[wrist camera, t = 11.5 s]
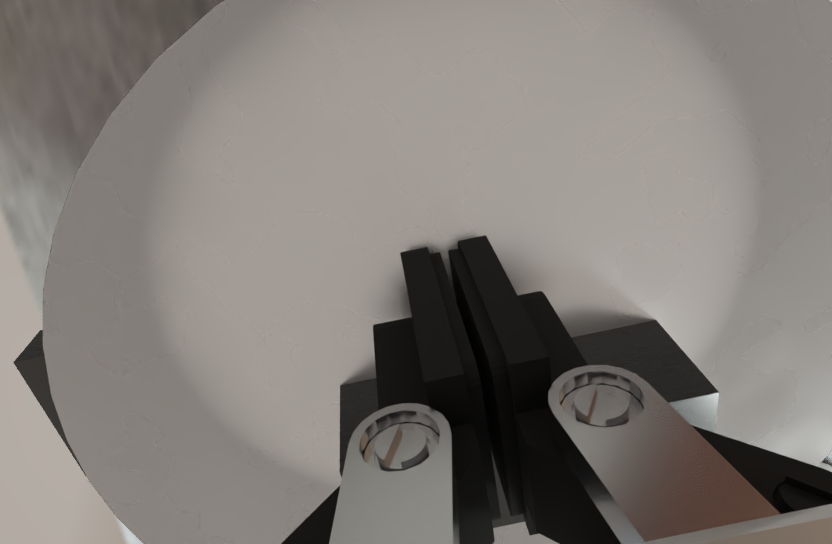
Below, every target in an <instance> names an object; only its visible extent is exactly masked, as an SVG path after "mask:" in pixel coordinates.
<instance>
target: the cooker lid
mask: <svg viewBox="0 0 832 544" xmlns="http://www.w3.org/2000/svg"><path fill="white" fill-rule="evenodd" d="M484 235H486V236H487V238H488V240H489V242H490V244H491V246H492V248H493V249H494V251H495V253H496V255H497V257H498V259H499V261H500V263H501V265H502V267H503V269H504V270H505V272H506V274H507V276H508V278H509V280H510V282H511V284H512V286H513V288H514V290H515V291H516V293H517V295H522V294H527V293H532V292H537V291H542V292H543V293H544V294H545V295H546V297H547V299H548V300H549V302H550V304H551V305H552V307H553V308H554V310H555V312H556V313H557V315H558V317H559V318H560V320H561V322H562V323H563V325H564V326H565V328H566V330H567V331H568V333H569V335H570V336H571V338H572V340H573V341H574V343H575V345H576V346H577V348H578V349H579V351H580V353H581V354H582V356H583V358H584V359H585V361H586V363H587V364H588V365H609V366H614V367H619V368H623V369H625V370H628V371H630V372H633V373H635V374H637V375H638V376H640V377H641V378H642V379H644V380H645V381H646V382H648V383H649V384H650V385H651V386H652V387H653V388H654V389H655V390H656V391H657V392H658V393H659V394H660V395H661V396H662V397H663V398H664V399H665V400H666V401H667V402H668V403H669V404H670V405H671V406H672V407H673V408H674V409H675V410H676V411H677V412H678V413H679V414H680V415H681V416H682V417H683V418H684V419H685V420H686V421H687V422H688V423H689V424H690V425H692V426H695V427H698V428H701V429H704V430H708V431H711V432H714V433H717V434H720V435H723V436H726V437H729V438H732V439H735V440H738V441H741V442H744V443H747V444H750V445H753V446H756V447H759V448H762V449H765V450H768V451H771V452H775V453H778V454H781V455H784V456H787V457H790V458H793V459H796V460H799V461H802V462H805V463H808V464H811V465H814V466H817V467H818V466H819V465H820V463H821V462H822V461H823V460H824V458H825V457H826V456H827V455H828V454H829V452H830V451H831V450H832V2H831V1H829V0H224V1H222V2H221V3H219V4H218V5H216V6H215V7H214V8H213V9H212V10H210V11H209V12H208V13H207V14H206V15H205V16H204V17H202V18H201V19H200V20H199V21H198V22H197V23H196V24H195V25H193V26H192V27H191V28H190V29H189V30H188V31H187V32H186V33H184V34H183V35H182V36H181V37H180V38H179V39H178V40H177V41H175V42H174V43H173V44H172V45H171V46H170V47H169V48H167V49H166V50H165V51H164V52H163V53H162V54H161V55H160V56H158V57H157V58H156V60H155V61H154V62H153V63H152V64H151V66H150V67H149V68H148V69H147V70H146V72H145V73H144V74H143V75H142V77H141V78H140V79H139V80H138V81H137V83H136V84H135V85H134V86H133V88H132V89H131V90H130V91H129V92H128V94H127V95H126V96H125V97H124V98H123V100H122V101H121V102H120V103H119V105H118V106H117V107H116V108H115V109H114V111H113V112H112V113H111V114H110V116H109V117H108V119H107V121H106V123H105V124H104V126H103V128H102V130H101V131H100V133H99V135H98V137H97V138H96V140H95V142H94V143H93V145H92V147H91V149H90V150H89V152H88V154H87V156H86V157H85V159H84V161H83V162H82V164H81V166H80V168H79V169H78V171H77V173H76V175H75V177H74V180H73V183H72V186H71V188H70V191H69V194H68V196H67V199H66V202H65V204H64V207H63V210H62V212H61V215H60V218H59V220H58V223H57V226H56V229H55V231H54V234H53V240H52V245H51V251H50V256H49V262H48V267H47V272H46V278H45V283H44V289H43V350H44V356H45V362H46V368H47V374H48V379H49V385H50V391H51V396H52V399H53V402H54V405H55V408H56V410H57V413H58V416H59V419H60V422H61V425H62V428H63V430H64V433H65V436H66V439H67V441H68V443H69V445H70V447H71V449H72V451H73V452H74V454H75V456H76V458H77V460H78V462H79V463H80V465H81V467H82V469H83V471H84V473H85V474H86V476H87V478H88V480H89V482H90V483H91V484H92V485H93V487H94V488H95V489H96V491H97V492H98V493H99V495H100V496H101V497H102V499H103V500H104V501H105V503H106V504H107V505H108V507H109V508H110V509H111V510H112V512H113V513H114V514H115V516H116V517H117V518H118V519H119V520H120V521H121V522H122V523H123V524H124V525H125V526H126V527H127V528H128V529H129V530H130V531H131V532H132V533H133V534H134V535H135V536H136V537H137V538H138V539H139V540H140V541H141V542H142V543H143V544H281V543H282V542H283V541H284V540H285V539H286V538H287V537H288V536H289V535H290V534H291V533H292V532H293V531H294V530H295V529H296V528H297V527H298V526H299V525H300V524H301V523H302V522H303V521H304V520H305V519H306V518H307V517H308V516H309V515H310V514H311V513H312V512H313V511H314V510H315V509H316V508H317V507H318V506H319V505H320V504H321V503H322V502H323V501H324V500H326V499H327V498H328V497H329V496H330V495H331V494H332V493H333V492H334V491H335V490H336V489H337V488H338V487H339V486H340V485H341V480H342V475H343V470H344V465H345V460H346V455H347V449H348V444H349V442H350V439H351V436H352V434H353V432H354V430H355V429H356V428H357V427H358V426H359V424H360V423H361V422H362V421H363V420H364V419H366V418H367V417H369V416H370V415H371V414H373V413H374V412H376V411H379V410H378V396H377V381H376V367H375V352H374V338H373V325H374V324H379V323H384V322H389V321H394V320H399V319H404V318H409V317H412V314H411V309H410V303H409V298H408V293H407V287H406V282H405V276H404V271H403V266H402V260H401V255H400V252H405V251H410V250H415V249H420V248H425V247H428V250H429V254H432V253H437V252H440V254H441V257H442V260H443V263H444V266H445V269H446V272H447V275H448V278H449V281H450V284H451V287H452V290H453V293H454V296H455V291H454V285H453V279H452V273H451V266H450V260H449V253H448V250H452V249H457V248H458V241H459V240H464V239H469V238H474V237H479V236H484ZM455 299H456V297H455ZM491 453H492V452H491ZM492 460H493V466H494V473H495V480H496V486H497V493H498V500H499V506H500V513H501V519H499V520H494V521H492V525H493V531H494V538H495V541H494V543H493V544H559V543H557V542H555V541H553V540H551V539H549V538H547V537H545V536H543V535H541V534H535V535H529V532H528V529H527V526H526V523H525V520H524V517H523V515H518V516H514V517H511V515H510V512H509V509H508V506H507V502H506V499H505V496H504V492H503V489H502V486H501V482H500V479H499V475H498V472H497V469H496V465H495V462H494V459H493V455H492Z"/></svg>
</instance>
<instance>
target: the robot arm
mask: <svg viewBox="0 0 832 544" xmlns="http://www.w3.org/2000/svg"><path fill="white" fill-rule="evenodd" d="M448 253H449V260H450V266H451V273H452V279H453V285H454V291H455V296H454V293H453V290H452V287H451V284H450V281H449V278H448V275H447V272H446V269H445V266H444V263H443V260H442V257H441V254H440V252H437V253H432V254H429V250H428V247H425V248H420V249H415V250H410V251H405V252H400V255H401V260H402V266H403V271H404V276H405V282H406V287H407V293H408V298H409V303H410V309H411V314H412V317H409V318H404V319H399V320H394V321H389V322H384V323H379V324H374V325H373V338H374V352H375V367H376V381H377V396H378V410H379V411H376V412H374V413H373V414H371V415H370V416H369V417H367V418H366V419H364V420H363V421H362V422H361V423H360V424H359V426H358V427H357V428H356V429H355V430H354V432H353V434H352V436H351V439H350V442H349V444H348V449H347V455H346V460H345V465H344V470H343V475H342V480H341V485H340V486H339V487H338V488H337V489H336V490H335V491H334V492H333V493H332V494H331V495H330V496H329V497H328V498H327V499H326V500H324V501H323V502H322V503H321V504H320V505H319V506H318V507H317V508H316V509H315V510H314V511H313V512H312V513H311V514H310V515H309V516H308V517H307V518H306V519H305V520H304V521H303V522H302V523H301V524H300V525H299V526H298V527H297V528H296V529H295V530H294V531H293V532H292V533H291V534H290V535H289V536H288V537H287V538H286V539H285V540H284V541H283V542H282V543H281V544H493V543H494V541H495V538H494V531H493V525H492V521H494V520H499V519H501V513H500V506H499V500H498V493H497V486H496V480H495V473H494V466H493V460H492V455H493V459H494V462H495V465H496V469H497V472H498V475H499V479H500V482H501V486H502V489H503V492H504V496H505V499H506V502H507V506H508V509H509V512H510V515H511V517H514V516H518V515H523V517H524V520H525V523H526V526H527V529H528V532H529V535H535V534H541V535H543V536H545V537H547V538H549V539H551V540H553V541H555V542H557V543H559V544H832V466H830V465H828V464H825V463H820V465H819V466H818V467H817V466H814V465H811V464H808V463H805V462H802V461H799V460H796V459H793V458H790V457H787V456H784V455H781V454H778V453H775V452H771V451H768V450H765V449H762V448H759V447H756V446H753V445H750V444H747V443H744V442H741V441H738V440H735V439H732V438H729V437H726V436H723V435H720V434H717V433H714V432H711V431H708V430H704V429H701V428H698V427H695V426H692V425H690V424H689V423H688V422H687V421H686V420H685V419H684V418H683V417H682V416H681V415H680V414H679V413H678V412H677V411H676V410H675V409H674V408H673V407H672V406H671V405H670V404H669V403H668V402H667V401H666V400H665V399H664V398H663V397H662V396H661V395H660V394H659V393H658V392H657V391H656V390H655V389H654V388H653V387H652V386H651V385H650V384H649V383H648V382H646V381H645V380H644V379H642V378H641V377H640V376H638V375H637V374H635V373H633V372H630V371H628V370H625V369H623V368H619V367H614V366H609V365H588V364H587V363H586V361H585V359H584V358H583V356H582V354H581V353H580V351H579V349H578V348H577V346H576V345H575V343H574V341H573V340H572V338H571V336H570V335H569V333H568V331H567V330H566V328H565V326H564V325H563V323H562V322H561V320H560V318H559V317H558V315H557V313H556V312H555V310H554V308H553V307H552V305H551V304H550V302H549V300H548V299H547V297H546V295H545V294H544V293H543V292H542V291H537V292H532V293H527V294H522V295H517V293H516V291H515V290H514V288H513V286H512V284H511V282H510V280H509V278H508V276H507V274H506V272H505V270H504V269H503V267H502V265H501V263H500V261H499V259H498V257H497V255H496V253H495V251H494V249H493V248H492V246H491V244H490V242H489V240H488V238H487V236H486V235H484V236H479V237H474V238H469V239H464V240H459V241H458V248H457V249H452V250H448ZM455 297H456V299H455ZM491 452H492V453H491Z"/></svg>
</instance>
